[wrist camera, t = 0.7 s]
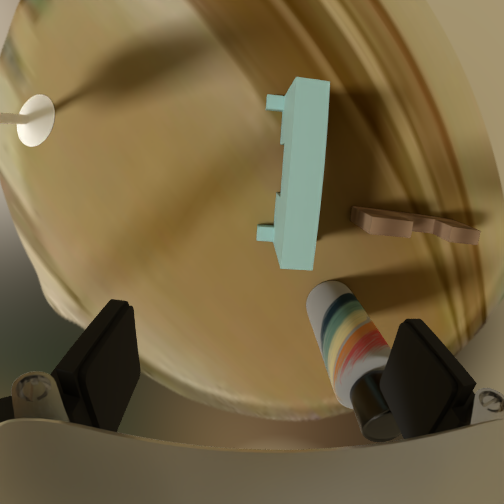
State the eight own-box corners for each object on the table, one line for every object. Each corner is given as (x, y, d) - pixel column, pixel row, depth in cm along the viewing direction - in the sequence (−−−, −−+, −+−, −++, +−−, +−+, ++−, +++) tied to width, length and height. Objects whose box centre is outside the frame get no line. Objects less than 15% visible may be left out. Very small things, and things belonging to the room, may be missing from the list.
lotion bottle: (357, 311, 36) (429, 431, 17) (314, 329, 37) (358, 463, 18) (344, 271, 35) (426, 385, 16) (298, 291, 35) (342, 423, 16)
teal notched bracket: (266, 96, 29) (273, 74, 21) (324, 103, 29) (351, 85, 21) (256, 238, 34) (259, 267, 25) (311, 241, 34) (332, 271, 25)
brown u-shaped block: (350, 220, 33) (369, 234, 27) (351, 206, 33) (372, 216, 27) (449, 231, 33) (477, 245, 28) (451, 219, 33) (480, 230, 27)
